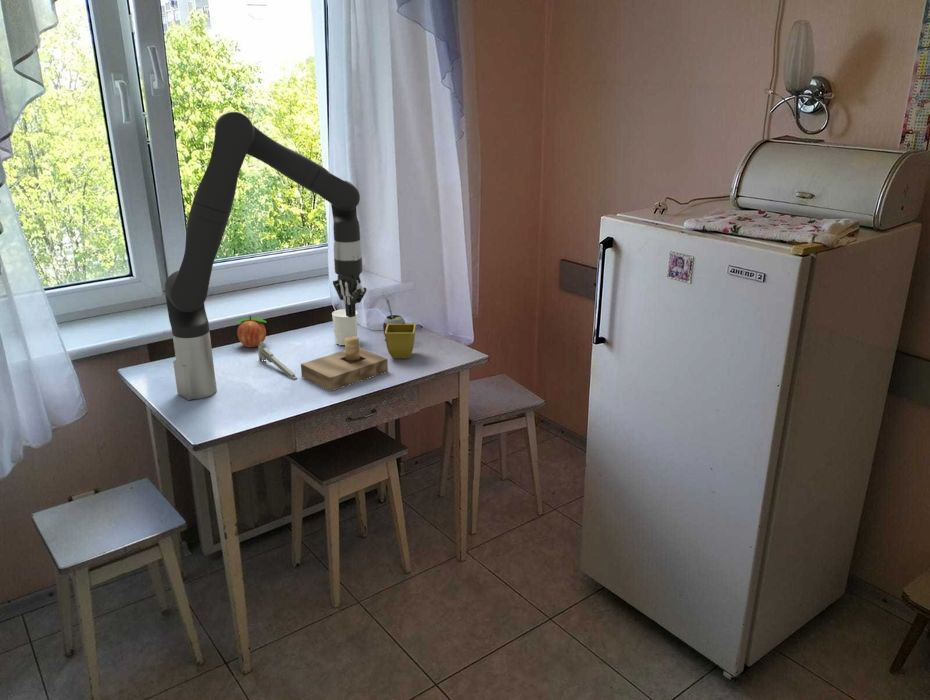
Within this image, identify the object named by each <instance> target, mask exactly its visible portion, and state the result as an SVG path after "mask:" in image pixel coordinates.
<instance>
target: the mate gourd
mask: <svg viewBox="0 0 930 700" xmlns="http://www.w3.org/2000/svg"><path fill="white" fill-rule="evenodd" d="M381 295H382V296H383V297H384V298H385V301H386V304H387V307H388V310H389V311H388V312H389V315H387V316H386V317H385V318H384V320H383V324H382V328H383V329H382V330H383V335H384V336H385V331H386V327H387V324H406V322H405V319H404V317H403V316H402V315H400V314H399V315H398V314H393V312H392V309H391V305H390V304H391V303H390V300H389V298H388V297H387V296H386V295H385V293H384V292H381ZM384 341H385V342H386V338H385V339H384Z"/></svg>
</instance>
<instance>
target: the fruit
mask: <svg viewBox="0 0 930 700" xmlns="http://www.w3.org/2000/svg"><path fill="white" fill-rule="evenodd" d="M238 323H240V324H239V325H238V327H237V333H236V334H237V338H238V341H239V342H240V343H241V344H242V345H243V346H245V347H247V348H258V346H259V345H260V342H263V343H265V339H266V335H267V330H266V327H265V325H264V323H267V321H266V320H264V319H262V318H258V317H253V318H252V316H251V315H249V318H247V317H245V318H241V319H239V320H238V321H236V322H235V323H234V324H238Z"/></svg>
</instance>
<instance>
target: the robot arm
mask: <svg viewBox="0 0 930 700" xmlns="http://www.w3.org/2000/svg"><path fill="white" fill-rule="evenodd" d="M247 155H248V156H250V157H253V158H255V159H257V160H259V161H261V162H262V163H264V164H266V165H268V167H271V168H272V169H274V170H275V171H277V172H278V173H280V174H281V175H283V176H285V177H286V178H287V179H289V180H291V182H294V183H296V184H298V185H299V186H301V187H303V188H305V189H306V190H309V191H310V192H312V193H314V194H317V195H318V196H319V197H321V198H323V199H324V200H325V201H327V202H329V203H330V207H331V213H332V218H333V225H332V226H333V227H332V230H333V263H334V273H335V274H336V275H337V279H336V280H333V281H332V285H333V288H334V289H335V292H336V293H337V295H338V298H339V300H340V301H343V303H344V304H345V305H344V307H345V308H344V309H345V310H346V316H348V317H354V316H355V314H356V311H357V310H356V308H357V307H356V304H359V303H361V302H362V301H363V299H364V296H365V294H366V292H367V290H368V289H367V288H366V287H363V286H362V284H361V278H360V275H361V274H362V273H363V254H362V253H363V252H362V243H361V232H360V223H359V219H358V215H357V213H358V211H357V210H358V209H357V206H358V205H359V203H360V200H361V198H360V197H361V196H360V191H359V189H357V187H356V186H355V185H354V184H353V183H351V182H350V181H348V180H343V178H341V177H338V176H336V175H334V174H333V173H331V172H330V171H329V170H328V169H326V168H325V167H324V166H322V165H320V164H319V163H317V162H315V161H313V160H312V159H310V158H308V157H307V156H304V155H303V154H301V153H299V152H297V151H295V150H293V149H291V148H289V147H287V146H285V145H283V144H281V143H279V142H277V141H276V140H274V139H273V138H271V137H269V136H268V135H267V134H265V133H264V132H262V131H261V130H260V129H259V128H257V127H256V126H255V125H253V121H252V120H251V119H250V118H249V117H248V116H247V115H246V114H244V113H242V112H239V111H228V112H225V113H223V114H221V115H220V116H219V117H218V119H216V122H215V125H214V138H213V145H212V149H211V155H210V159H209V162H208V165H207V168H206V170H205V172H204V174H203V176H202V178H201V180H200V182H199V185H198V187H197V188H196V191H195V194H194V197H193V200H192V203H191V206H190V210H189V214H188V218H187V223H186V232H185V233H186V234H185V244H184V245H185V248H184V254H183V258H182V261H181V264H180V267H179V269H178V270H176V271H174V272H172V273H171V274H170V275H169V276H168V277H167V279H166V281H165V283H164V295H165V301H166V308H167V313H168V320H169V321H168V322H169V325H170V328H171V335H172V340H173V341H172V342H173V349H174V355H175V356H174V357H175V360H173V362H172V363H173V369H174V371H173V372H174V376H175V384H176V392H177V395H179V396H180V397H182V398H183V399H185V400H187V401H190V400H199V399H204V398H209V397H211V396H213V395H214V394H215V393H216V392H217V380H216V374H215V373H216V372H215V365H214V356H213V348H212V342H211V341H212V340H211V333H210V324H209V320H208V317H207V313H206V309H205V308H206V306H205V301H206V300H207V297H208V293H209V287H210V286H209V285H210V282H211V276H212V269H213V265H214V262H215V260H216V257H217V254H218V251H219V249H220V246H221V243H222V241H223V237H224V234H225V231H226V228H227V225H228V222H229V220H230V219H229V218H230V215H231V212H232V208H233V204H234V200H235V195H236V189H237V184H238V179H239V175H240V171H241V169H242V166H243V163H244V161H245V159H246V157H247Z"/></svg>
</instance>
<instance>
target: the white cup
mask: <svg viewBox="0 0 930 700" xmlns="http://www.w3.org/2000/svg"><path fill="white" fill-rule="evenodd" d="M331 315H332V316H331V317H332V325H333V327H332V328H333V333H334V339H335V344H336V343H337V344H339V345H338V346H340V345H345V338H347V337H358V315H359V314H358V311H357V310H356V314H355V316H354V317H348V316H346V310H345V308H341V309H340V308H339V309H337V310H334V311H332V312H331ZM337 344H336V345H337Z"/></svg>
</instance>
